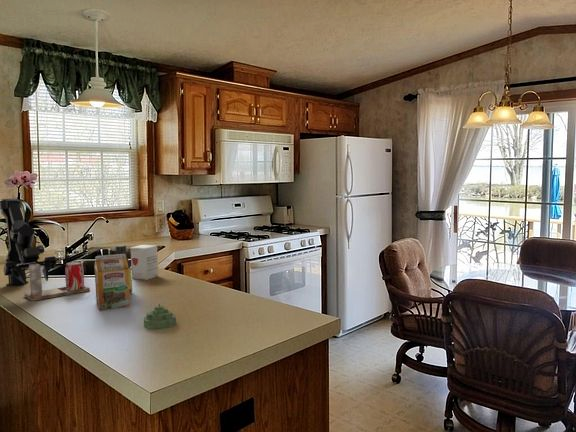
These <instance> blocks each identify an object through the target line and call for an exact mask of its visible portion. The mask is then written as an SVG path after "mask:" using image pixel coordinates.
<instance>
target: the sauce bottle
mask: <svg viewBox="0 0 576 432" xmlns="http://www.w3.org/2000/svg"><path fill="white" fill-rule="evenodd" d="M115 252H116V255H117V254H125V255H126V260H127V264H128V271H129V293H130V294H133V293H132V292H133V280H132V279H133V278H132V272H131V262H130V261H129V258H128V256H127V255H128V254H127V245H125V244H121V245H119V244H118V245H115Z"/></svg>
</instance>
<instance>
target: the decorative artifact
mask: <svg viewBox="0 0 576 432" xmlns="http://www.w3.org/2000/svg"><path fill="white" fill-rule="evenodd" d="M145 315H146V316H144V318H143V327H144V328H145V329H147V330H150V331H151V330H153V331H159V330H160V331H161V330H165V329H167V330H168V329H170V328H172V327H174V326H176V325H177V315H176V314H175V313H173V312H171V311H170V309H168V307H166V308H165V307H164V305H161V303H158V305H157V306H155V307H154V309H153V310H151V311H150V312H146V314H145Z"/></svg>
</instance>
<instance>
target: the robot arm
mask: <svg viewBox="0 0 576 432" xmlns="http://www.w3.org/2000/svg"><path fill="white" fill-rule="evenodd" d="M22 208H23V205H22V200H21V199H18V198H15V197H13V198H1V200H0V214H1V215H2V216H3V217H4V218H5V223H6V229H7V236H8V238H7V239H8V245H9V251H8V253H7V255H6V259H5V262H4V265H3V266H4V267H3V274H4V276H6V277H8V283H6V284H5V285H6V286H15V287H16V286H21V285H22V286H23V285H27V284H28V283H29V281H27V273H26V271H29V265H30V264H39V265H40V266H41V267H42V274H43V277H44V280H45V281H46V282H49V281H48V280H49V272H50V271H51V270H53V269H55V268H56V265H57V263H58V259H57V257H56V256H54V255H52V256H45V257H44V260H40V255H42V254H44V253H45V246H44V245H43V244H40V245H37V246H33V242H34V237H35V234H36V233H35V231H36V230H35V228H34V227H32V226H31V225H29V223H27V222H25V220H24V217H23V213H22V210H21V209H22ZM38 260H40V261H38Z"/></svg>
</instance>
